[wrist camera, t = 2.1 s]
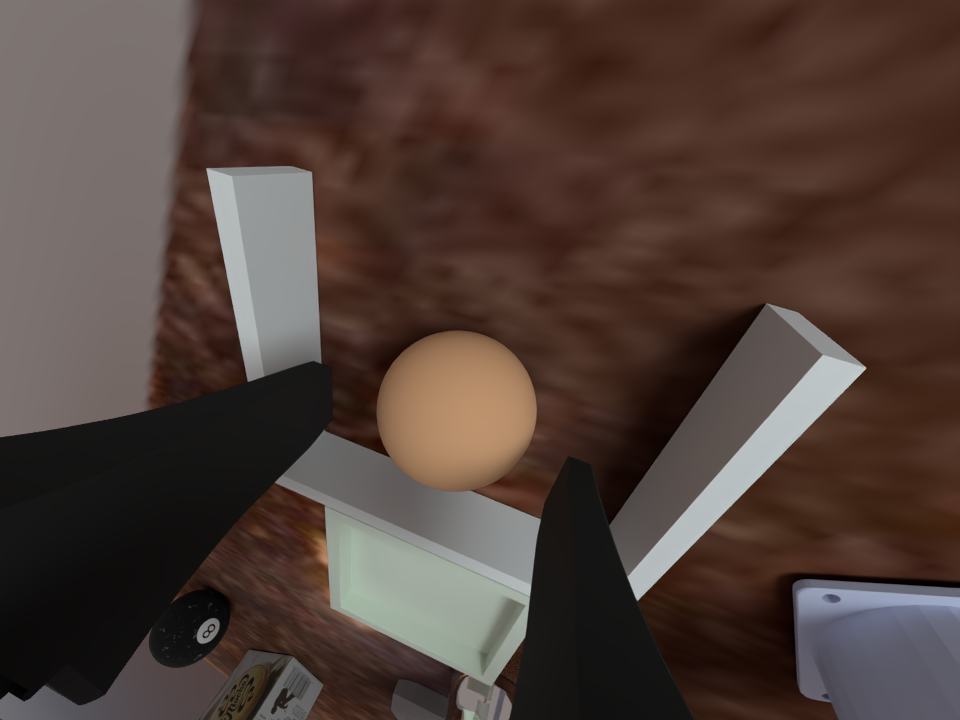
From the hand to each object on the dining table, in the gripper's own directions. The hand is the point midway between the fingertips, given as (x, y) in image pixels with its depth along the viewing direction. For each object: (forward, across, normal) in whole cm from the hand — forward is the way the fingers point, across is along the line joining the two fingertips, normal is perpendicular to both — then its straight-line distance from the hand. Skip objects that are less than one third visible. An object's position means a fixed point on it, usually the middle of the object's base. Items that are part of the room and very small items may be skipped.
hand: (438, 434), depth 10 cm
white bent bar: (+4, 0, +1) cm, 4 cm away
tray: (+4, 0, +16) cm, 17 cm away
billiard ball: (+4, +21, +38) cm, 44 cm away
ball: (+4, 0, 0) cm, 4 cm away
